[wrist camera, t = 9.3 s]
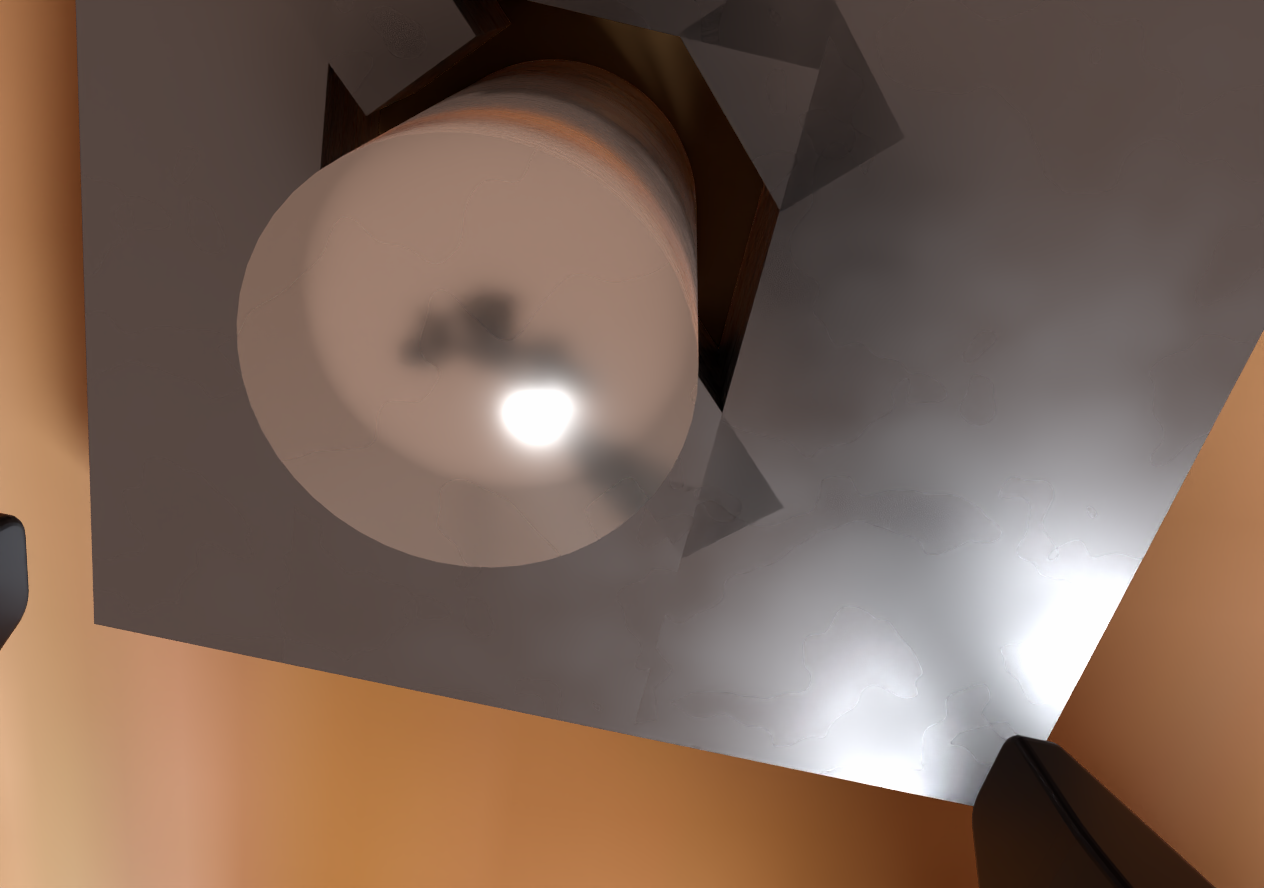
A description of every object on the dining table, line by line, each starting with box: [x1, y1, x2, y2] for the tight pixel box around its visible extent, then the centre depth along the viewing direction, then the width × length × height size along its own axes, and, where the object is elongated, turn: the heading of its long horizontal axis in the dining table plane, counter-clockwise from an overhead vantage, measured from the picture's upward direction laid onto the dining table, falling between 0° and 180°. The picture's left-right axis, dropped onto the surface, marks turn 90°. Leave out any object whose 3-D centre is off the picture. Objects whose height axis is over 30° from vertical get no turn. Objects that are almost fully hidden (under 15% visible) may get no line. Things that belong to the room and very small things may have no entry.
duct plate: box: [76, 0, 1264, 806], centre depth 17 cm, size 18×18×3 cm
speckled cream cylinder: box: [237, 59, 698, 568], centre depth 14 cm, size 5×5×8 cm
